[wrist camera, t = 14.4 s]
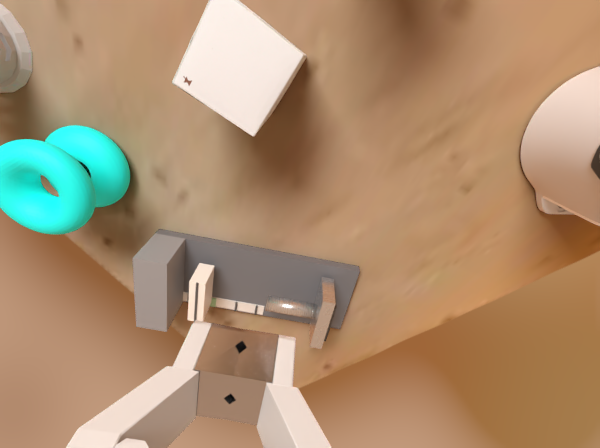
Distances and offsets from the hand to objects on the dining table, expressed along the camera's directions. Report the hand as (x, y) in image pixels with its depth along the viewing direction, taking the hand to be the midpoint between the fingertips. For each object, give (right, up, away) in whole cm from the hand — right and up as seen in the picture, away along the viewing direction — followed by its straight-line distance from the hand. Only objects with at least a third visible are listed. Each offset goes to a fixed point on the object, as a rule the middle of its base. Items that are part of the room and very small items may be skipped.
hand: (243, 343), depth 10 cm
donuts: (-24, +11, +31) cm, 40 cm away
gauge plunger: (+2, -7, +36) cm, 37 cm away
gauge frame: (-5, -5, +38) cm, 38 cm away
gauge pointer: (-11, -5, +35) cm, 37 cm away
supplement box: (-2, +20, +25) cm, 32 cm away
